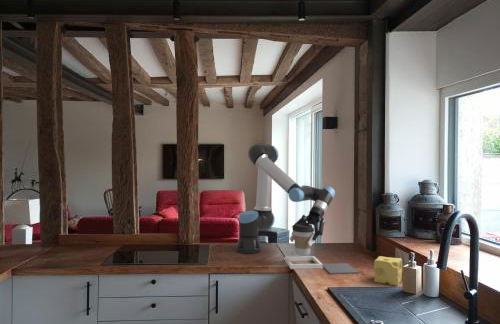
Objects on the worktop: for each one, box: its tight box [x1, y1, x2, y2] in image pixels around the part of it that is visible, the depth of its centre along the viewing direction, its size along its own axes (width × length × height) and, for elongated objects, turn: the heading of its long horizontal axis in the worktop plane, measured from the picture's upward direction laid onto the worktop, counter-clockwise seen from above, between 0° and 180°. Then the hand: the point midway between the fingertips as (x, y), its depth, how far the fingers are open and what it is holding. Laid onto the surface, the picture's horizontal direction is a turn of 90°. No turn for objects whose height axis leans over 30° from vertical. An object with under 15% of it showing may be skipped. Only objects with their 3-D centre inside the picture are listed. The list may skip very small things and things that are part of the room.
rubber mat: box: [322, 262, 359, 275], centre depth 186 cm, size 16×14×1 cm
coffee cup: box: [292, 223, 315, 256], centre depth 195 cm, size 11×11×15 cm
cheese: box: [373, 255, 403, 287], centre depth 168 cm, size 10×11×10 cm
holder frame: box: [284, 255, 324, 270], centre depth 195 cm, size 16×16×2 cm
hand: (299, 242), depth 193 cm, fingers closed on coffee cup, 11 cm apart
